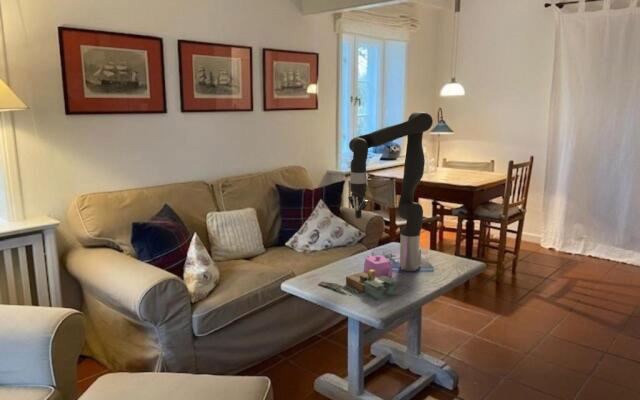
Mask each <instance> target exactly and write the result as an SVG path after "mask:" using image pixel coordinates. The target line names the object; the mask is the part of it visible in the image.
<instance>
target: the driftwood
mask: <svg viewBox="0 0 640 400" xmlns="http://www.w3.org/2000/svg"><path fill="white" fill-rule="evenodd" d="M319 285H322V286H325V287H328V288H329V289H334V290H336V291H337V292H338V293H341V294H342V293H343V295H344V296H347V293H345V291H343V289H344V290H348V291H349V293H351V294H349V297H352V296H354V295H359V293H361V292H360V291H357V290H355V289H353V288H350V287H349V288H348V286H343V285H340V284H338V283H333V282H325V281H320V282H318V286H319Z"/></svg>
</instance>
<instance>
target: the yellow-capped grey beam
mask: <svg viewBox="0 0 640 400" xmlns="http://www.w3.org/2000/svg"><path fill="white" fill-rule="evenodd" d="M371 279H372V280H374V281H377V282H379V283H381V284H383V285H384V286H385V282H384V281H382V280H380V279H378V278H375V270H373V269H372V270H369V277H368V280H371Z"/></svg>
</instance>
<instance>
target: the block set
mask: <svg viewBox="0 0 640 400" xmlns="http://www.w3.org/2000/svg"><path fill="white" fill-rule="evenodd" d="M368 277H369V273H368V272H366V271H365V272H364V271H362V272H358V273H354V274H350V275H348V276H345V285H346V287H349V288H350V289H352V290H355V291H357V292H359V291H360V292H359V293H360V294H364V295H365V296H366V297H369V299H370V298H371V299H372V300H375V301H376V302H377V301H381V300H383V299H387V298H390V297H393V296H396V295H397V283H398V282H397V281H396V280H394V279H392V278H391V279H390V278H388V277H386V276H381V277H376V276H375V278H378V279H380V280H382V281H384V282H385V286H384V285H383V284H381V283H379V282H377V281H374V280H372V279H371V280H368Z"/></svg>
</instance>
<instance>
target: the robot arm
mask: <svg viewBox="0 0 640 400" xmlns="http://www.w3.org/2000/svg"><path fill="white" fill-rule="evenodd" d="M432 117H433V116H432V115H430V114H429V113H428V112H424V111H415V112H411V114H410V115H409V116H408V119H407V120H406V121H403V122H400V123H398V124H392V125H389V126H386V127H383V128H380V129H377V130H374V131H372V132H370V133H366V134H361V135H359V136H356V137H354V138H351V140H350V141H349V143H348V147H349V150H350V151H351V152H352V154H353V155H352V160H351V161H350V176H349V178H350V180H349V183H350V185H349V186H350V187H349V188H350V190H349V191H350V192H351V194H350V196H348V197H347V199H348V201H349V204H350V205H351V208H352V209H354V211H355V214H354V215H355V216H354V217H355V219H361V218H362V211H364V210H365V209H366V208H367V206H368V204H369V202H370V200H368V199H366V192H367V180H368V179H367V177H368V176H367V160H368V154H369V149H371V148H377V147H380V146H383V145H385V144H388V143H391V142H393V141H395V140H398V139H401V138H403V137H407V140H406V141H407V142H406V148H405V149H406V150H405V158H404V166H403V178H402V186H401V192H400V196H399V202H398V205H397V212H398V216H399V217H400V218H401V219H403V220H406V224H405V226H402V227H401V228H400V247H399V252H400V253H399V267H400V266H401V268H402V269H403V271H405V272H406V271H407V272H414V271H417V270H416V269H417V268H418V267H419V265H421V264H422V263H421V262H422V261H421V260H422V259H421V258H422V249H421V248H420V247H421V245H420V242H421V231H422V228H423V221H424V220H423V219H424V209H423V206H422V205H421V204H420V203H418V202H415V201H414V198H415V196H414V195H415V191H416V189H417V187H418V185H419V183H420V181H421V180H422V179H423V177H424V171H425V162H426V161H425V154H424V149H423V136H424V133H425V132H428V131H429V130H430V129H431V128H432V126H433V123H434V121H433V118H432ZM401 268H400V269H401ZM402 269H401V270H402Z"/></svg>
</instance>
